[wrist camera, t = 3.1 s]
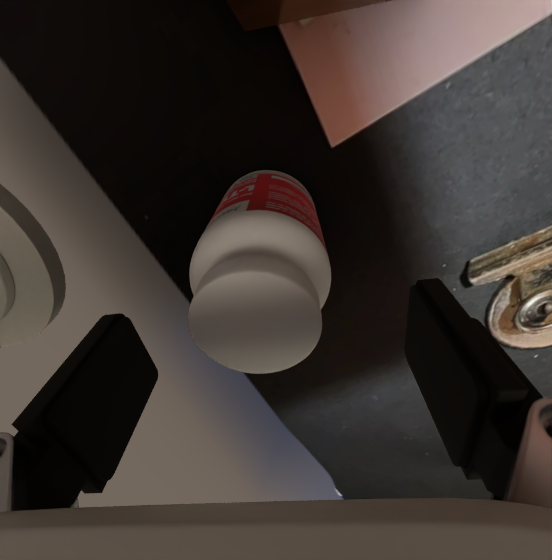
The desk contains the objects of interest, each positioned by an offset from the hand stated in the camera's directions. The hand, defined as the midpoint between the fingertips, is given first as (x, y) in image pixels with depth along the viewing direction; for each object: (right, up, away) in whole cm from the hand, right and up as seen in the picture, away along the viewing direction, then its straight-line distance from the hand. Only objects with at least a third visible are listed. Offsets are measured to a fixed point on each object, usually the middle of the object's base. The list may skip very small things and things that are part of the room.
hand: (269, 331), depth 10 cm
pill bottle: (0, +6, +10) cm, 11 cm away
